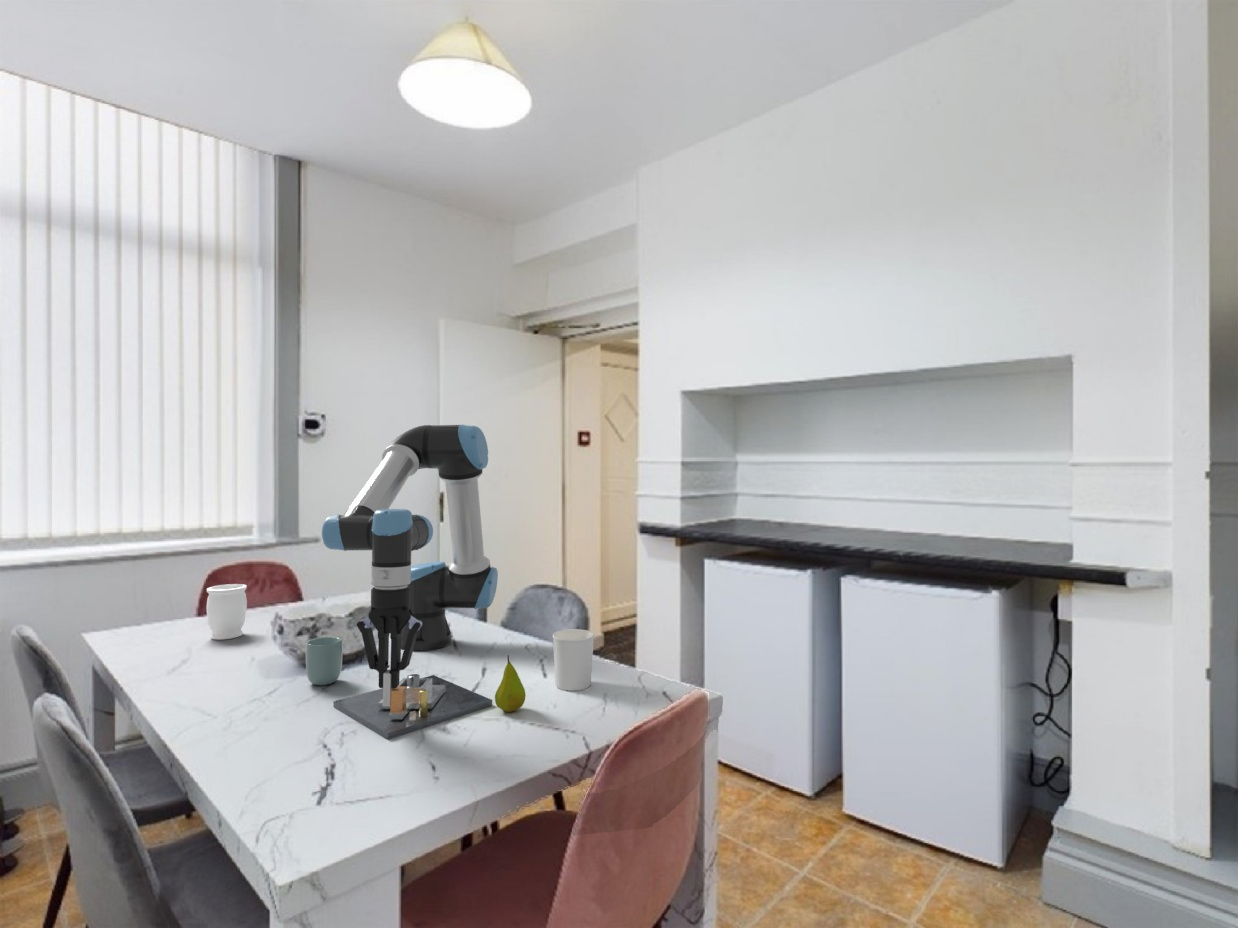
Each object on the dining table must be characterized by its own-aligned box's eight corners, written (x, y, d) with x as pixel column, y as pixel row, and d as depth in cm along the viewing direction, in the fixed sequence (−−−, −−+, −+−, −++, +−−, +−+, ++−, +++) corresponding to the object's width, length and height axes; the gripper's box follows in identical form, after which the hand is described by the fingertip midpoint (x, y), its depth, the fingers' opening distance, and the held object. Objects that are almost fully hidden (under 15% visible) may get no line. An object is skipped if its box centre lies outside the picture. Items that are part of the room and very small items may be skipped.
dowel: (424, 713, 133) (424, 688, 133) (428, 715, 132) (428, 690, 132) (417, 715, 132) (417, 690, 132) (421, 717, 131) (421, 692, 131)
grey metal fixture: (396, 690, 146) (396, 665, 146) (445, 690, 146) (445, 665, 146) (368, 719, 130) (368, 690, 130) (423, 719, 130) (423, 691, 130)
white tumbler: (543, 685, 154) (543, 634, 154) (574, 675, 161) (574, 626, 161) (572, 695, 147) (572, 642, 147) (602, 684, 155) (602, 634, 155)
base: (433, 679, 158) (433, 652, 158) (492, 705, 141) (492, 675, 141) (333, 706, 140) (333, 676, 140) (387, 739, 124) (387, 705, 124)
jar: (233, 641, 191) (233, 590, 191) (198, 641, 191) (198, 590, 191) (254, 631, 202) (254, 583, 202) (220, 631, 202) (220, 583, 202)
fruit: (524, 704, 142) (525, 649, 142) (525, 714, 136) (525, 657, 136) (495, 705, 141) (495, 650, 141) (494, 716, 135) (494, 658, 135)
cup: (328, 689, 151) (328, 646, 151) (298, 687, 152) (298, 644, 152) (348, 678, 158) (348, 637, 158) (320, 676, 160) (320, 635, 160)
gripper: (351, 588, 127) (348, 710, 127) (417, 590, 127) (414, 711, 127) (366, 582, 135) (364, 696, 135) (428, 583, 135) (426, 697, 135)
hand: (388, 703), depth 131 cm, fingers closed
